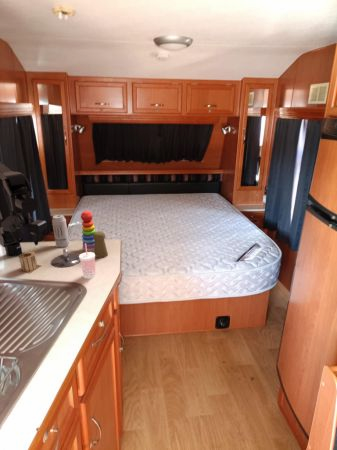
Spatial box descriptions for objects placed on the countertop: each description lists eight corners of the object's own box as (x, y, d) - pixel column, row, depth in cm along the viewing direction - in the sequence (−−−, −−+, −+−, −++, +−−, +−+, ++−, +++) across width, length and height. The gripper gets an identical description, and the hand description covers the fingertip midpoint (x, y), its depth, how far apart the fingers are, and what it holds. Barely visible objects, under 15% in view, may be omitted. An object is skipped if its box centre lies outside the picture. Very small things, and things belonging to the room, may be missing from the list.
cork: (109, 252, 149) (107, 230, 145) (105, 258, 143) (103, 235, 139) (96, 252, 149) (94, 229, 145) (92, 258, 144) (89, 235, 140)
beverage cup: (98, 277, 128) (95, 245, 123) (83, 281, 126) (78, 248, 121) (95, 270, 133) (92, 239, 128) (80, 273, 131) (76, 242, 126)
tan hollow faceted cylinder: (18, 270, 133) (15, 257, 131) (29, 263, 138) (26, 250, 136) (29, 272, 131) (26, 259, 129) (40, 266, 136) (38, 253, 134)
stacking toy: (86, 245, 157) (81, 207, 150) (102, 245, 156) (98, 208, 149) (80, 252, 150) (74, 213, 143) (96, 253, 148) (92, 214, 142)
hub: (44, 266, 137) (42, 253, 135) (64, 253, 149) (63, 241, 146) (69, 272, 133) (67, 258, 130) (88, 258, 144) (87, 245, 142)
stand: (17, 272, 133) (15, 264, 132) (29, 265, 139) (28, 256, 138) (30, 275, 131) (28, 266, 129) (42, 267, 137) (41, 259, 135)
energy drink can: (54, 248, 154) (49, 218, 148) (58, 243, 159) (53, 214, 154) (67, 248, 154) (62, 218, 148) (70, 243, 159) (66, 214, 154)
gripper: (-17, 210, 121) (-8, 248, 127) (24, 216, 115) (31, 255, 121) (6, 202, 131) (14, 237, 137) (45, 206, 125) (51, 243, 131)
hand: (27, 243), depth 131 cm, fingers open, 9 cm apart
